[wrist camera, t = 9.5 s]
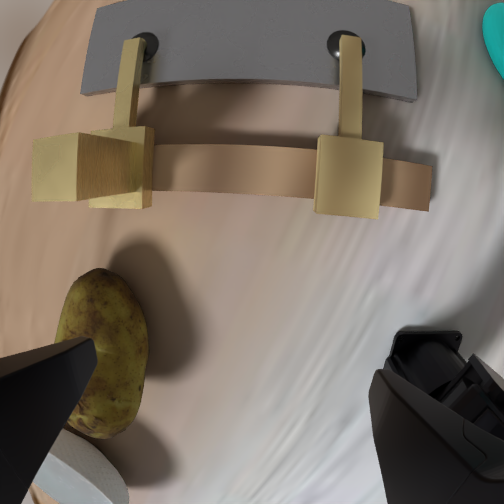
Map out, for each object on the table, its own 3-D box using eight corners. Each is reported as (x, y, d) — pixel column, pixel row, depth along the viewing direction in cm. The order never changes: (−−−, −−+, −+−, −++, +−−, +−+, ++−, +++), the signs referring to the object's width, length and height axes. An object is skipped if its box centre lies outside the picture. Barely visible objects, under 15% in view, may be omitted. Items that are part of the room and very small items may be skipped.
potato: (191, 302, 23) (150, 359, 15) (144, 407, 26) (111, 465, 18) (99, 250, 22) (32, 282, 15) (73, 363, 26) (27, 409, 18)
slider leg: (167, 36, 17) (115, -19, 9) (154, 205, 20) (85, 224, 12) (117, 44, 17) (53, 2, 10) (104, 204, 20) (26, 221, 12)
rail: (421, 62, 17) (440, 47, 14) (418, 218, 20) (439, 226, 16) (83, 59, 19) (60, 48, 16) (72, 198, 22) (46, 203, 18)
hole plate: (404, 11, 16) (409, 5, 15) (411, 102, 18) (417, 99, 17) (102, 12, 18) (96, 7, 17) (87, 96, 20) (79, 93, 18)
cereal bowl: (36, 380, 27) (1, 413, 20) (157, 460, 28) (137, 506, 21) (33, 442, 32) (11, 469, 25) (125, 501, 32) (110, 534, 25)
